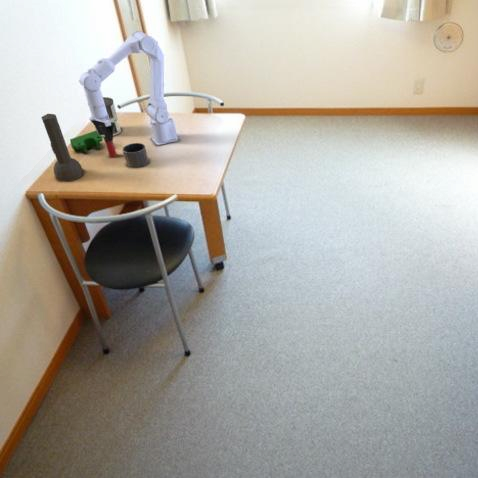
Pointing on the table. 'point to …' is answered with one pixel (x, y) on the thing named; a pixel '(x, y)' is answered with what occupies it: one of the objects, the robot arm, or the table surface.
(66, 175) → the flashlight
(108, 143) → the marker
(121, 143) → the table surface
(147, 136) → the table surface
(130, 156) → the cup
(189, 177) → the table surface
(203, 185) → the table surface
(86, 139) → the green notched block
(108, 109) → the coffee can
